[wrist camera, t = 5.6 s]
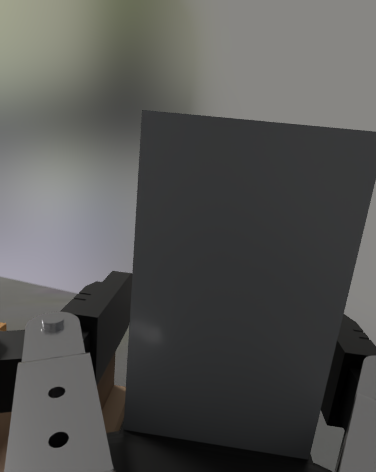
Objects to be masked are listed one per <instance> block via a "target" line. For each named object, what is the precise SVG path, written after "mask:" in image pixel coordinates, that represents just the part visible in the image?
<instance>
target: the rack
mask: <svg viewBox="0 0 376 472" xmlns="http://www.w3.org/2000/svg"><path fill="white" fill-rule="evenodd" d="M0 331H6V323H0ZM114 370H115V353H114V355H113V357H112V359H111V361H110V362H109V364H108V366H107V368H106V370H105V372H104V374H103V376H102V377H101V379H100V381H99V383H98V385H97V390H98V395H99V400H100V405H101V410H102V415H103V420H104V425H105V430H106V433H108V432H115V431H119V430H120V427H121V424H122V422H123V419H124V411H125V394H126V387H123V386H116V385H114ZM11 414H12V412H6V413H0V472H4V469H5V461H6V453H7V445H8V437H9V429H10V422H11Z"/></svg>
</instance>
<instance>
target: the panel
mask: <svg viewBox="0 0 376 472" xmlns="http://www.w3.org/2000/svg"><path fill="white" fill-rule="evenodd" d="M375 180H376V132H372V131H361V130H351V129H340V128H329V127H319V126H307V125H297V124H286V123H275V122H265V121H254V120H244V119H233V118H222V117H211V116H201V115H189V114H179V113H168V112H157V111H147V110H142V123H141V139H140V157H139V173H138V190H137V207H136V224H135V241H134V258H133V275H132V292H131V309H130V326H129V343H128V360H127V377H126V394H125V411H124V428H123V430H129V431H135V432H141V433H147V434H153V435H160V436H166V437H172V438H178V439H184V440H190V441H197V442H203V443H209V444H215V445H221V446H227V447H234V448H240V449H246V450H252V451H258V452H264V453H271V454H277V455H283V456H289V457H295V458H301V459H308V460H309V456H310V452H311V447H312V443H313V439H314V435H315V431H316V427H317V422H318V418H319V414H320V410H321V406H322V401H323V397H324V393H325V389H326V385H327V381H328V376H329V372H330V368H331V364H332V360H333V355H334V351H335V347H336V343H337V339H338V335H339V330H340V326H341V322H342V318H343V314H344V309H345V305H346V301H347V297H348V293H349V289H350V284H351V280H352V276H353V272H354V268H355V264H356V259H357V255H358V251H359V246H360V243H361V238H362V234H363V230H364V226H365V222H366V218H367V213H368V209H369V205H370V201H371V197H372V192H373V188H374V184H375Z"/></svg>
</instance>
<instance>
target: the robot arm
mask: <svg viewBox="0 0 376 472" xmlns="http://www.w3.org/2000/svg"><path fill="white" fill-rule="evenodd" d="M132 275H133V274H132V273H124V272H117V271H112V272H111V273H110V274H109V275H108V276H107V278H106V279H105V280H104V281H103V282H94V283H92V284H90V285H87V286H86V287H85V288H83V290H82V291H80V292H79V294H77V295H76V296H75V297H74V299H72V300H71V301H70V302H69V303H68V304H67V305H66V306H65V307H64V308H63V309H62V310H61V311H60V312H48V313H44V314H40V315H38V316H36V317H34V318H32V319H31V320H29V321H28V322H27V324H26V327H25V330H17V331H0V413H6V412H12V414H11V422H10V429H9V437H8V445H7V453H6V461H5V469H4V472H332V471H330V470H328V469H326V468H324V467H322V466H320V465H318V464H315V463H313V461H312V458H311V454H310V456H309V460H308V459H301V458H295V457H289V456H283V455H277V454H271V453H264V452H258V451H252V450H246V449H240V448H234V447H227V446H221V445H215V444H209V443H203V442H197V441H190V440H184V439H178V438H172V437H166V436H160V435H153V434H147V433H141V432H135V431H129V430H123V428H124V422H123V425H122V428H121V430H120V431H115V432H108V433H106V430H105V425H104V420H103V415H102V410H101V405H100V400H99V395H98V390H97V385H98V383H99V381H100V379H101V377H102V376H103V374H104V372H105V370H106V368H107V366H108V364H109V362H110V361H111V359H112V357H113V355H114V353H115V351H116V349H117V347H118V345H119V344H120V342H121V340H122V338H123V336H124V334H125V332H126V330H127V328H128V326H129V322H130V309H131V292H132ZM321 411H322V414H323V416H324V419H325V421H326V424H327V425H329V426H335V427H342V428H344V430H345V432H344V436H343V440H342V443H341V448H340V452H339V456H338V460H337V464H336V468H335V472H376V346H375V345H374V344H373V343H372V341H371V340H369V338H368V336H367V335H366V334H365V333H363V330H362V329H361V328H360V327H359V325H358V324H357V323H356V322H355V321H353V320H352V319H350V318H349V317H347V316H346V315H344V314H343V318H342V322H341V326H340V330H339V335H338V339H337V343H336V347H335V351H334V355H333V360H332V364H331V368H330V372H329V376H328V381H327V385H326V389H325V393H324V397H323V401H322V406H321Z"/></svg>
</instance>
